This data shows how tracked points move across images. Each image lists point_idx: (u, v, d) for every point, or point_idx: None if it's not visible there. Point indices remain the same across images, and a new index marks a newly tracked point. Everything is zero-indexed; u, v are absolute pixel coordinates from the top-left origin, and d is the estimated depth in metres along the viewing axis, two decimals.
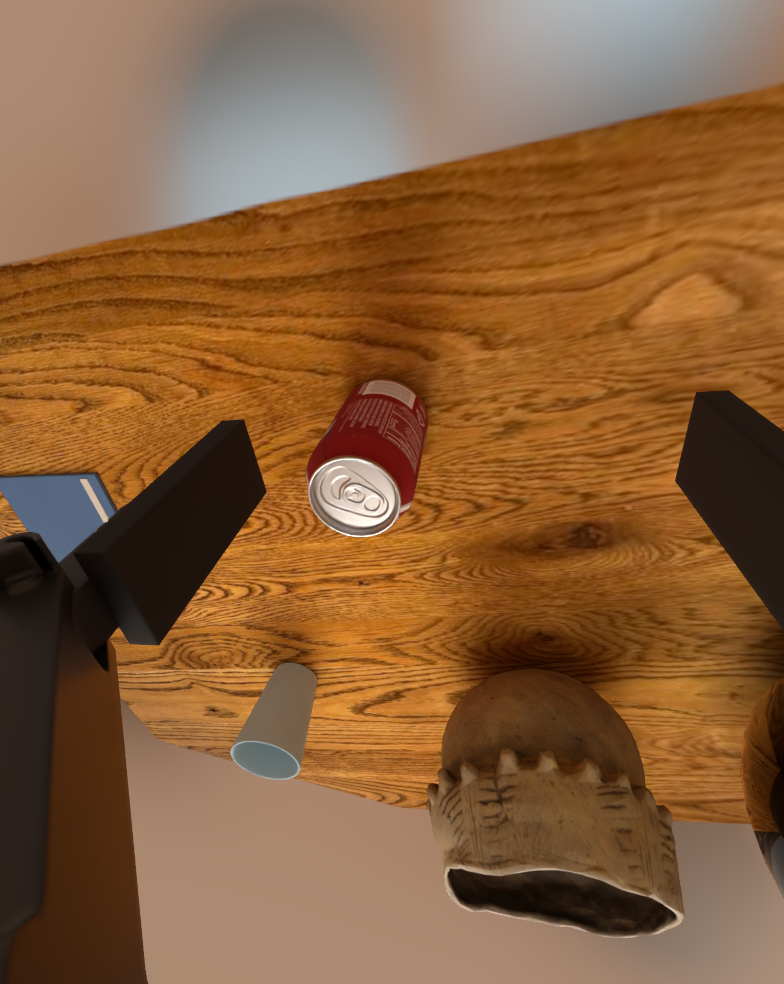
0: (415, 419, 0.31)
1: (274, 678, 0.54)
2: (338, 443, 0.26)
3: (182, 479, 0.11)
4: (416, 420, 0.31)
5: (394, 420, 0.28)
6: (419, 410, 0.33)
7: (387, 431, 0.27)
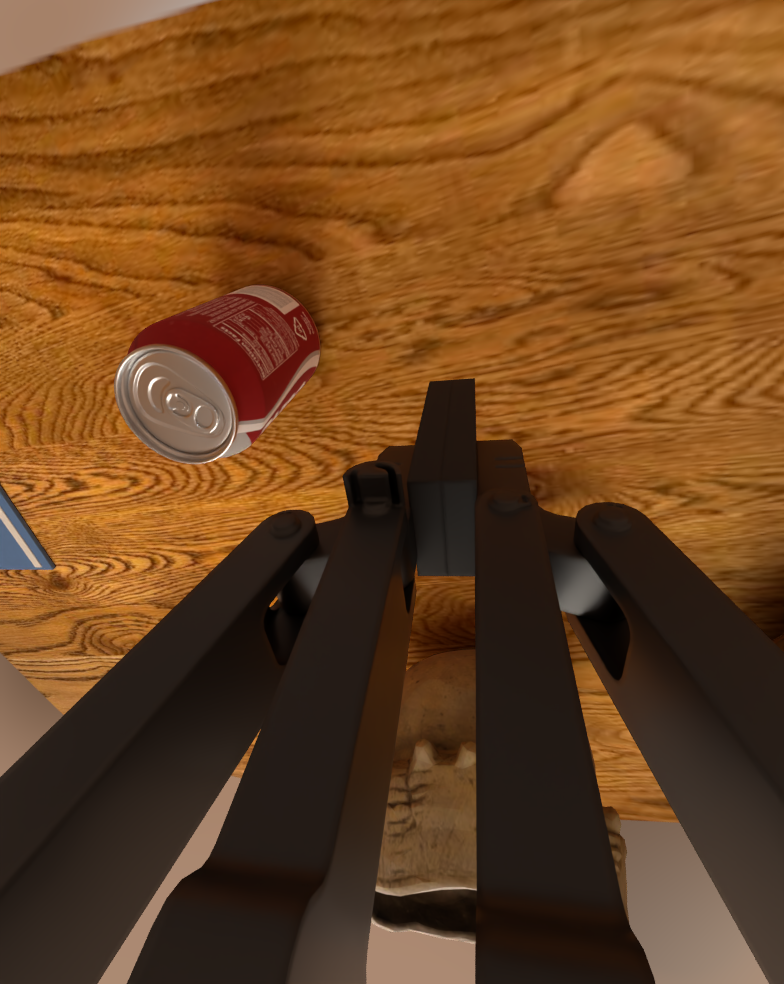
0: (287, 325, 0.25)
1: None
2: (151, 333, 0.19)
3: (447, 426, 0.12)
4: (289, 327, 0.25)
5: (245, 315, 0.22)
6: (300, 320, 0.26)
7: (224, 322, 0.20)
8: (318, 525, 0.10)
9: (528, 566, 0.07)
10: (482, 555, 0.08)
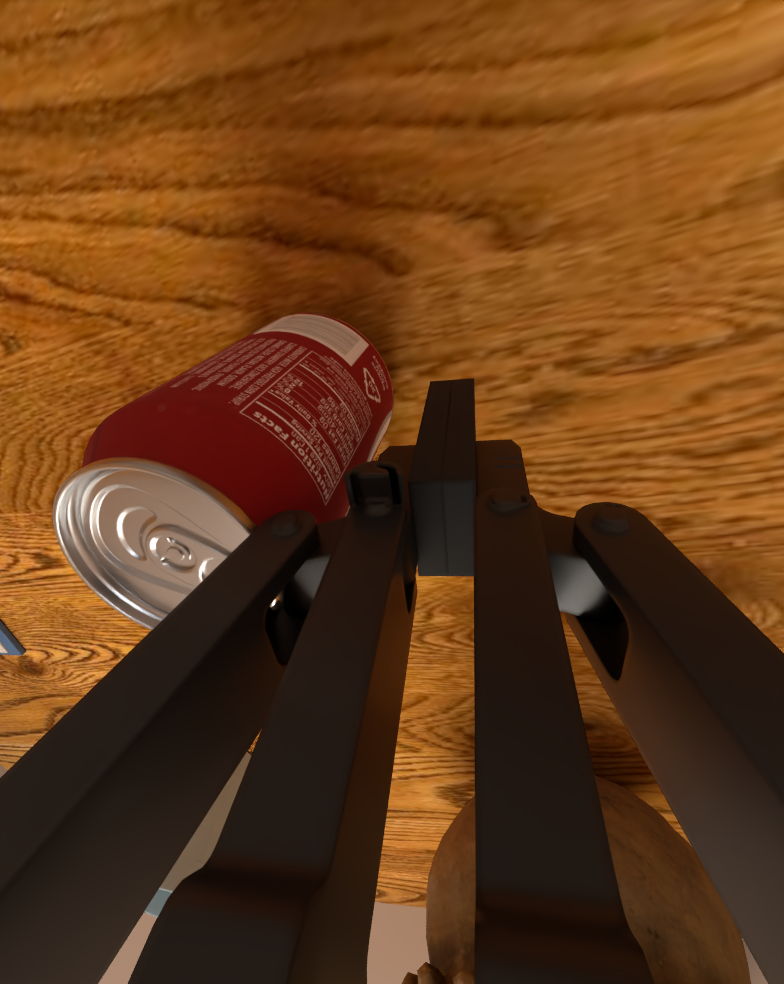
0: (356, 385, 0.15)
1: None
2: (122, 426, 0.10)
3: (448, 426, 0.12)
4: (359, 388, 0.15)
5: (293, 379, 0.13)
6: (371, 371, 0.17)
7: (261, 401, 0.11)
8: (319, 525, 0.10)
9: (527, 565, 0.07)
10: (481, 555, 0.08)
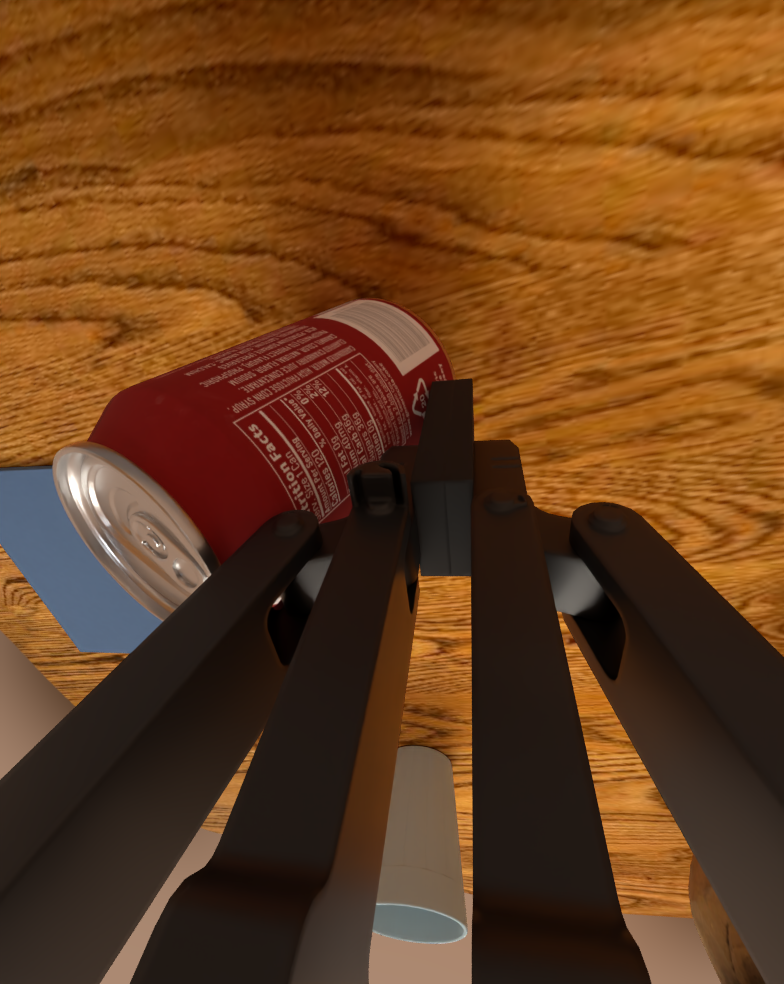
0: (400, 399, 0.14)
1: (397, 773, 0.36)
2: (123, 408, 0.10)
3: (450, 425, 0.12)
4: (403, 403, 0.14)
5: (319, 387, 0.12)
6: (429, 382, 0.15)
7: (265, 411, 0.10)
8: (321, 525, 0.10)
9: (524, 565, 0.07)
10: (478, 555, 0.08)
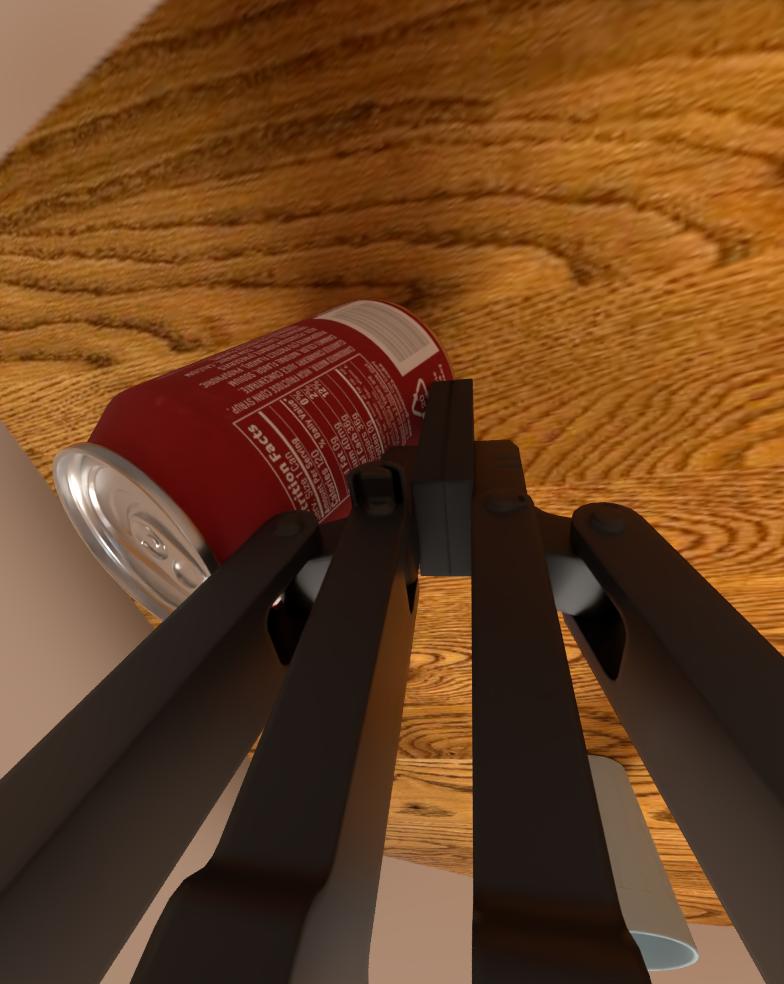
0: (400, 399, 0.14)
1: None
2: (123, 409, 0.10)
3: (450, 426, 0.12)
4: (403, 403, 0.14)
5: (319, 388, 0.12)
6: (429, 382, 0.15)
7: (264, 412, 0.10)
8: (321, 525, 0.10)
9: (524, 565, 0.07)
10: (479, 555, 0.08)
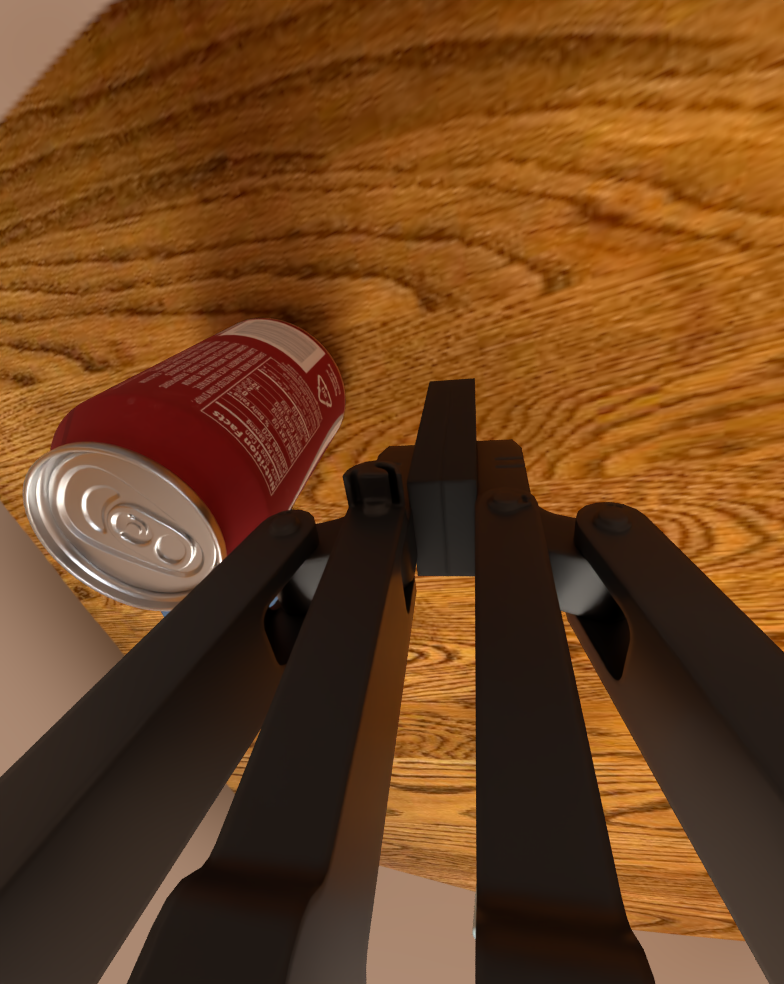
0: (309, 390, 0.17)
1: None
2: (94, 414, 0.12)
3: (447, 425, 0.12)
4: (311, 393, 0.17)
5: (251, 383, 0.14)
6: (325, 378, 0.19)
7: (220, 402, 0.13)
8: (318, 525, 0.10)
9: (528, 566, 0.07)
10: (482, 555, 0.08)
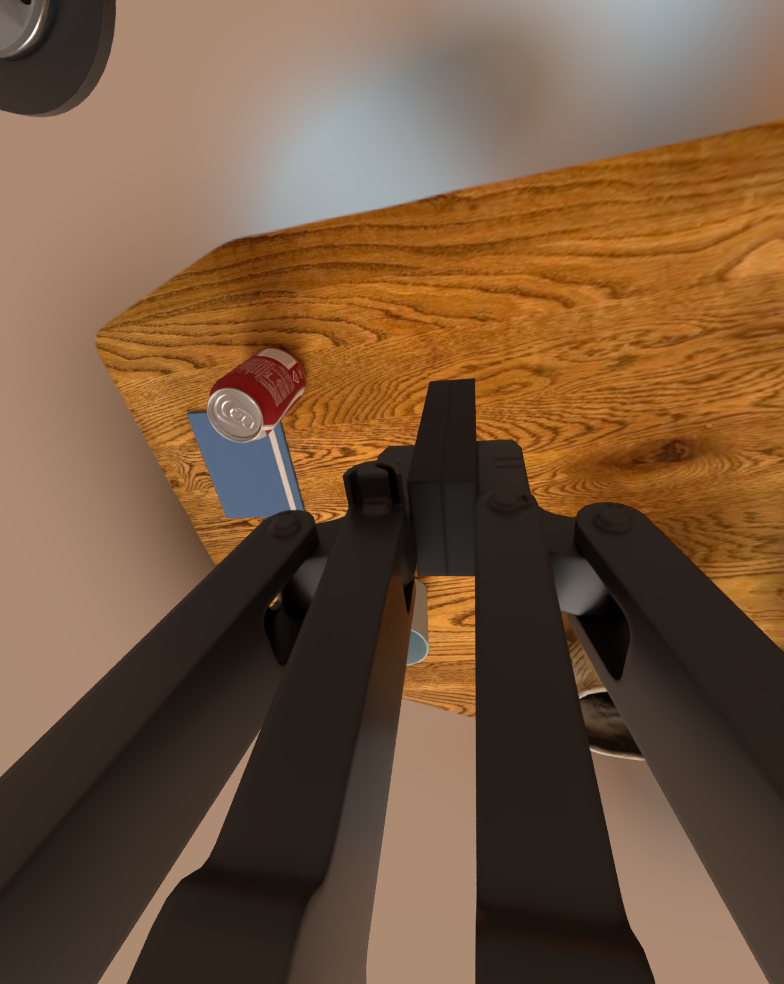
0: (289, 376, 0.48)
1: None
2: (228, 380, 0.42)
3: (447, 425, 0.12)
4: (290, 377, 0.48)
5: (270, 372, 0.45)
6: (296, 371, 0.49)
7: (261, 378, 0.43)
8: (318, 525, 0.10)
9: (528, 565, 0.07)
10: (482, 555, 0.08)
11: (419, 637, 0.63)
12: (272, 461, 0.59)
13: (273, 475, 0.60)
